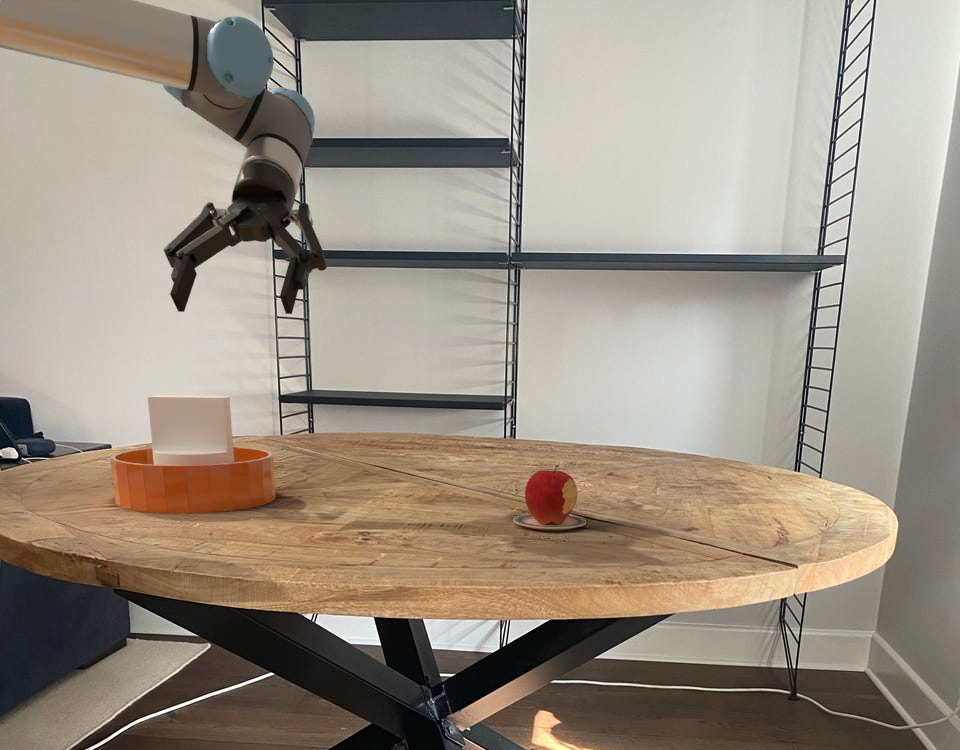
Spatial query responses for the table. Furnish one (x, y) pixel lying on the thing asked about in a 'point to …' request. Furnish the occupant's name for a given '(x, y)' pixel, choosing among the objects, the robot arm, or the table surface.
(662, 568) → the table surface
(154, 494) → the orange shallow round tray
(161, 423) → the cylinder with rectangular tab
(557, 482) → the apple
